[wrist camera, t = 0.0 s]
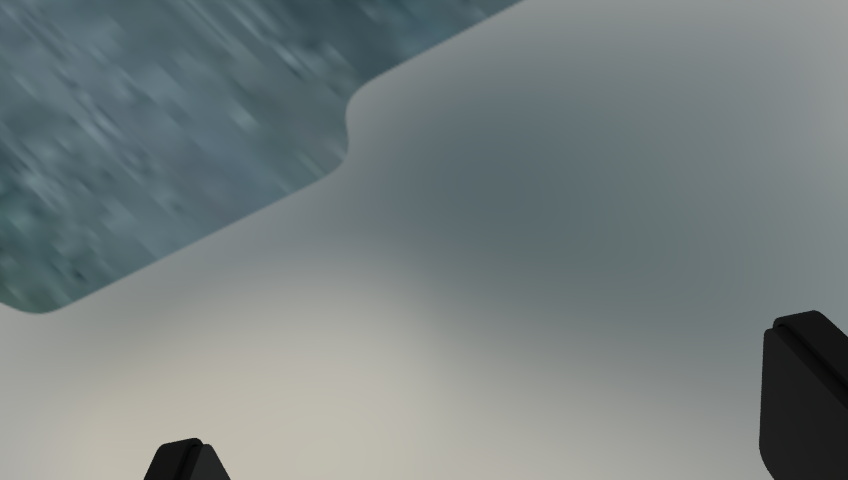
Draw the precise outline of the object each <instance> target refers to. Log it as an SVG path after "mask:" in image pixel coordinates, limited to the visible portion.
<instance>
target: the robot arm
mask: <svg viewBox="0 0 848 480" xmlns="http://www.w3.org/2000/svg"><path fill="white" fill-rule="evenodd" d="M759 449H760V454H761V457H762V460H763V462H764V464H765V466H766V468H767V470H768V471H769V473H770V474H771V476H772V477H773V478H774V480H848V337H847V336H846V335H845V334H844V333H843V332H842V331H841V330H840V329H839V328H837V327H836V326H835V325H834V324H833V323H832V322H831V321H830V320H829V319H827V318H826V317H825V316H824V315H823V314H821V313H820V312H818V311H815V310H812V311H808V312H803V313H798V314H793V315H788V316H783V317H779V318H777V319H775V321H774V324H773V328H772V329H767V330H766V331H765V333H764V343H763V367H762V391H761V413H760V436H759ZM144 480H230V478H229V476H228V474H227V472H226V471H225V469H224V467H223V465H222V463H221V462H220V460H219V458H218V456H217V454H216V452H215V451H214V449H213V447H212V446H211V445H209V444H203V443H202V442H201V440H199V439H197V438H191V439H186V440H181V441H176V442H172V443H166V444H163V445H161V446H160V447H159V449H158V450H157V452H156V454H155V456H154V458H153V460H152V462H151V464H150V467H149V469H148V471H147V473H146V475H145V477H144Z"/></svg>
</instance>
